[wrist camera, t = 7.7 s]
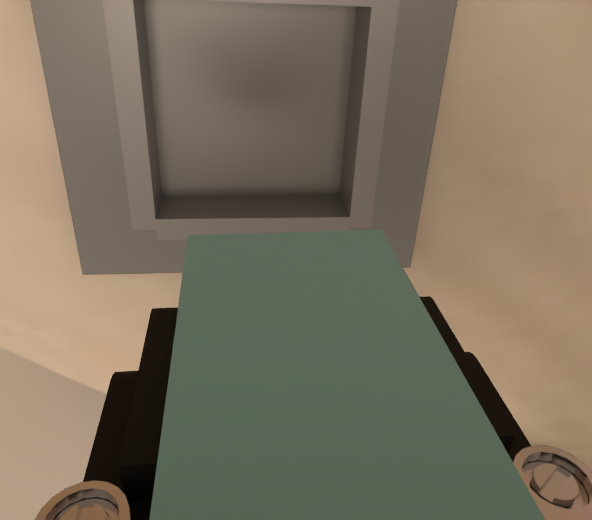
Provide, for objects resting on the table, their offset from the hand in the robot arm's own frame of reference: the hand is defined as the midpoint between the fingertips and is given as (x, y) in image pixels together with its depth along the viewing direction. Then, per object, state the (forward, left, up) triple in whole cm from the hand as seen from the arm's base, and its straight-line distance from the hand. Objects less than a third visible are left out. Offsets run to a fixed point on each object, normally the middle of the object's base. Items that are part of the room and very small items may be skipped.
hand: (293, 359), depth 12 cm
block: (0, 0, -2) cm, 2 cm away
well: (0, -1, -20) cm, 20 cm away
